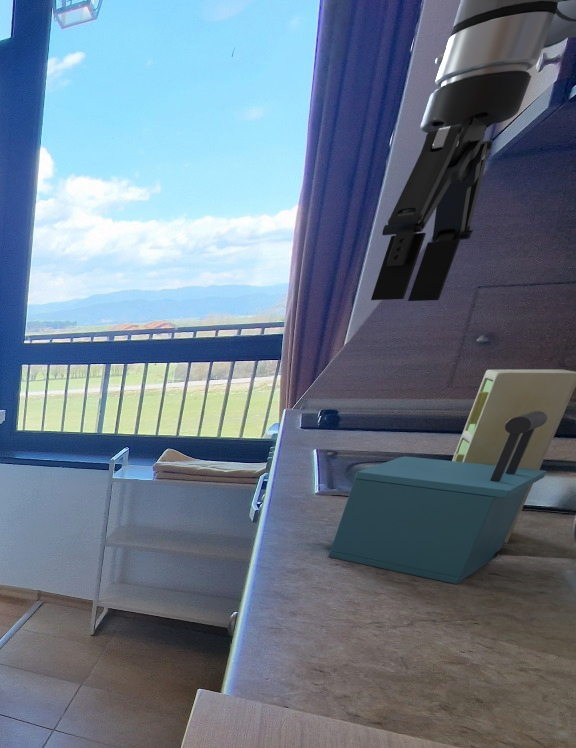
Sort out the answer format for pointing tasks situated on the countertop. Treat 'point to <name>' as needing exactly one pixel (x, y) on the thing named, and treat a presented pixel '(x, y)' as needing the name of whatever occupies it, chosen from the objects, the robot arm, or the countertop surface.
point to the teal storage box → (423, 529)
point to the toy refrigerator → (509, 400)
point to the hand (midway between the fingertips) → (405, 300)
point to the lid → (468, 467)
